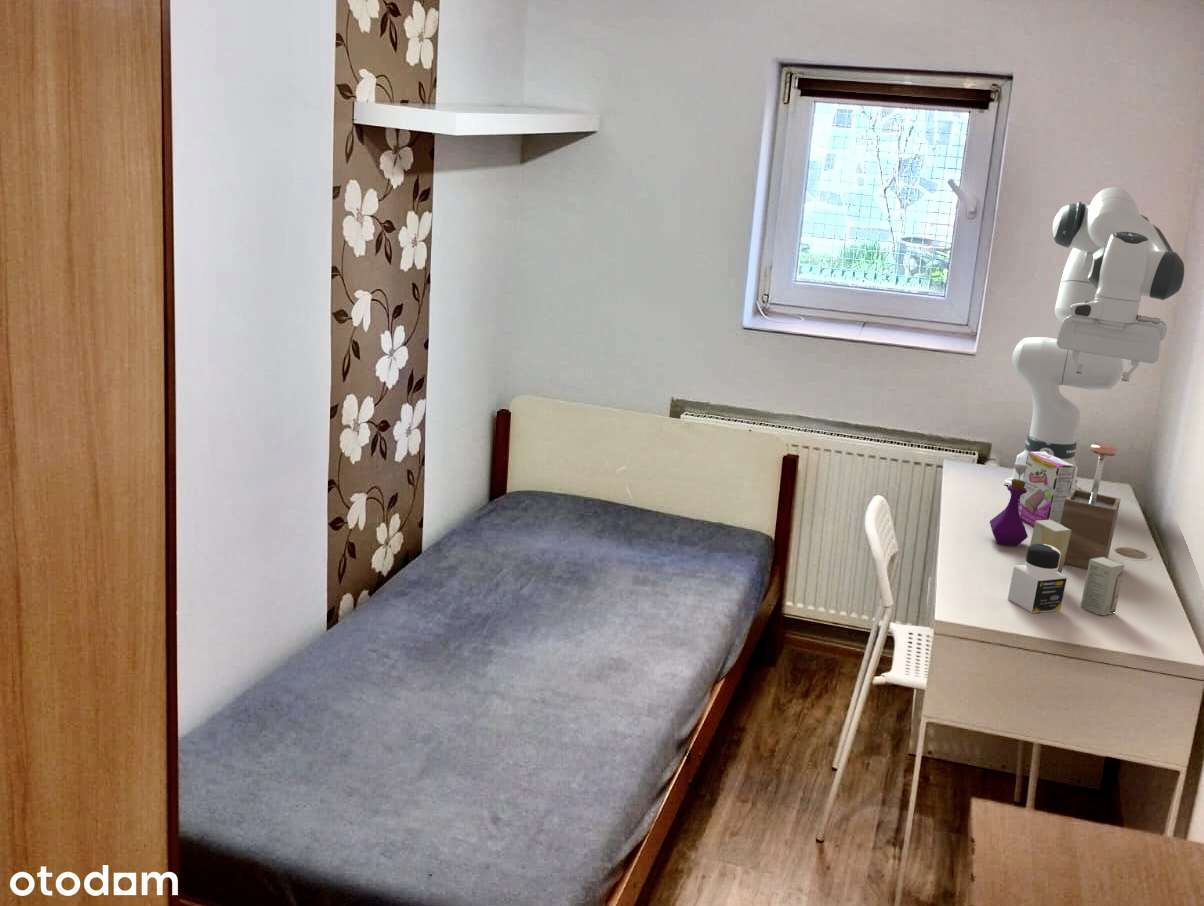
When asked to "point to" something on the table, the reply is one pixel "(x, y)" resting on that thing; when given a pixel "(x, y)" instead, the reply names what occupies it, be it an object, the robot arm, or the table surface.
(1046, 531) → the skincare box
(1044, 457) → the candy bar box
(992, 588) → the table surface
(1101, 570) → the skincare box
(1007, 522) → the perfume bottle
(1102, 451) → the table lamp
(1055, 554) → the medicine bottle
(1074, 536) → the wooden box
